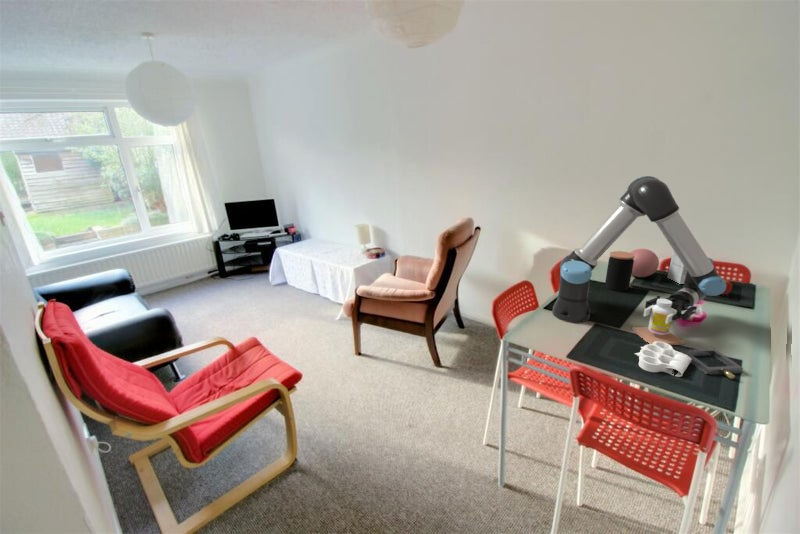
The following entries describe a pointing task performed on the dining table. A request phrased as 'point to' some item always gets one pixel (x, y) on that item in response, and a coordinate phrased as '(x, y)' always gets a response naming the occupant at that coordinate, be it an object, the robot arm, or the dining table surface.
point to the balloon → (644, 263)
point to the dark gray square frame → (726, 370)
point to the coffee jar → (619, 270)
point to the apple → (727, 287)
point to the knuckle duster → (662, 358)
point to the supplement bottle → (660, 317)
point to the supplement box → (677, 269)
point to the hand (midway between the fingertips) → (655, 316)
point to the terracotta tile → (657, 336)
